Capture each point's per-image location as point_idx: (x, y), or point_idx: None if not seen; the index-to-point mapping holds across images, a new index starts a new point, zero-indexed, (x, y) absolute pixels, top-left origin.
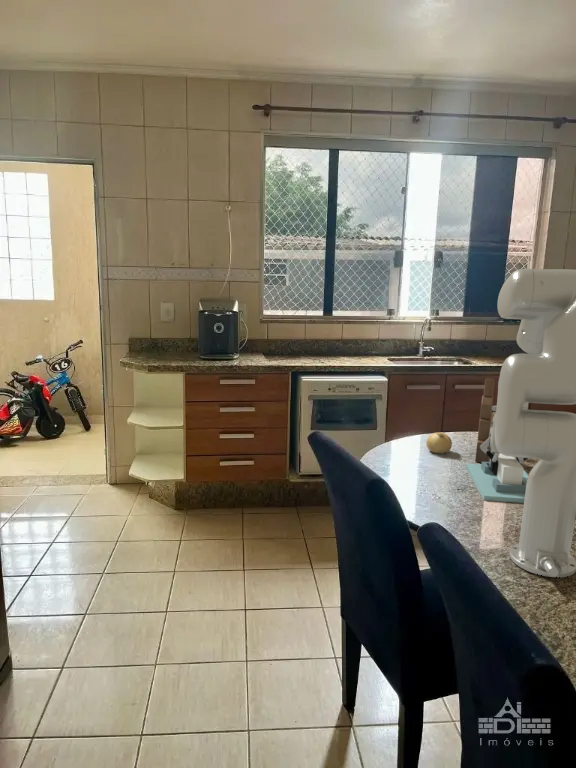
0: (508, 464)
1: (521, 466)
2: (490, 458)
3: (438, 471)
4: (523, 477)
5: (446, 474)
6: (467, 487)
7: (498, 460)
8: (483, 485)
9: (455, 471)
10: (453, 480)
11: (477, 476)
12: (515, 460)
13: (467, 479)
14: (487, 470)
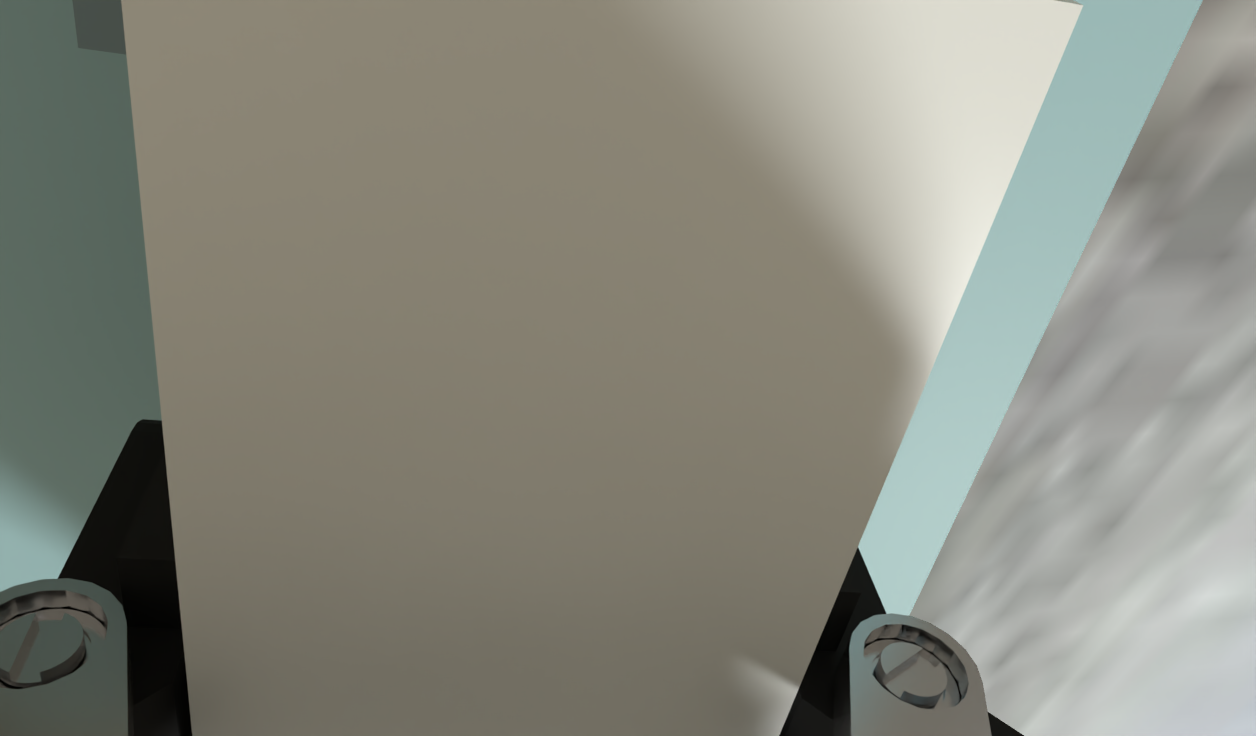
0: (703, 301)
1: (175, 89)
2: (994, 718)
3: (1210, 663)
4: (58, 515)
5: (1177, 595)
6: (1218, 169)
7: (799, 649)
8: (1052, 100)
9: (991, 684)
10: (1234, 423)
11: (899, 490)
12: (253, 672)
13: (998, 471)
14: None
